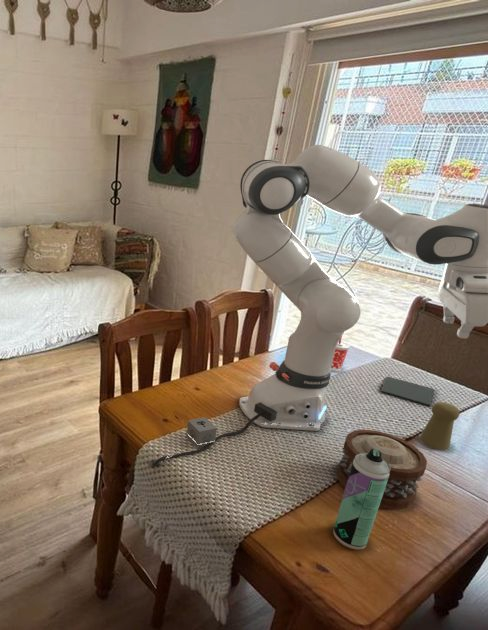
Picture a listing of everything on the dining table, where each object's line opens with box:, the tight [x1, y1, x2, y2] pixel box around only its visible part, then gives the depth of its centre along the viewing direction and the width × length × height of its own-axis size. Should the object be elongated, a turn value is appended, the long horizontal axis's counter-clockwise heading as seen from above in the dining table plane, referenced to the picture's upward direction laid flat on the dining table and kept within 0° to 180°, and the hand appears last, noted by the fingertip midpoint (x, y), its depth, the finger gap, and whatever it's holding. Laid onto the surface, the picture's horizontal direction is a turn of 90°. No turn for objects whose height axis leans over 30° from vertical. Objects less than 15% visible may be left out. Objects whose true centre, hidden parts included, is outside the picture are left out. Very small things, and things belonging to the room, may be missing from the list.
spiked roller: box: [336, 429, 428, 510], centre depth 95 cm, size 15×11×15 cm
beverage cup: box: [330, 335, 351, 372], centre depth 146 cm, size 6×6×14 cm
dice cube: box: [185, 416, 218, 450], centre depth 111 cm, size 5×5×5 cm
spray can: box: [332, 449, 390, 551], centre depth 80 cm, size 6×6×20 cm
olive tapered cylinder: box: [419, 401, 461, 451], centre depth 109 cm, size 6×6×11 cm
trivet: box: [380, 376, 435, 407], centre depth 134 cm, size 12×12×1 cm
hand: (454, 329), depth 107 cm, fingers open, 8 cm apart
